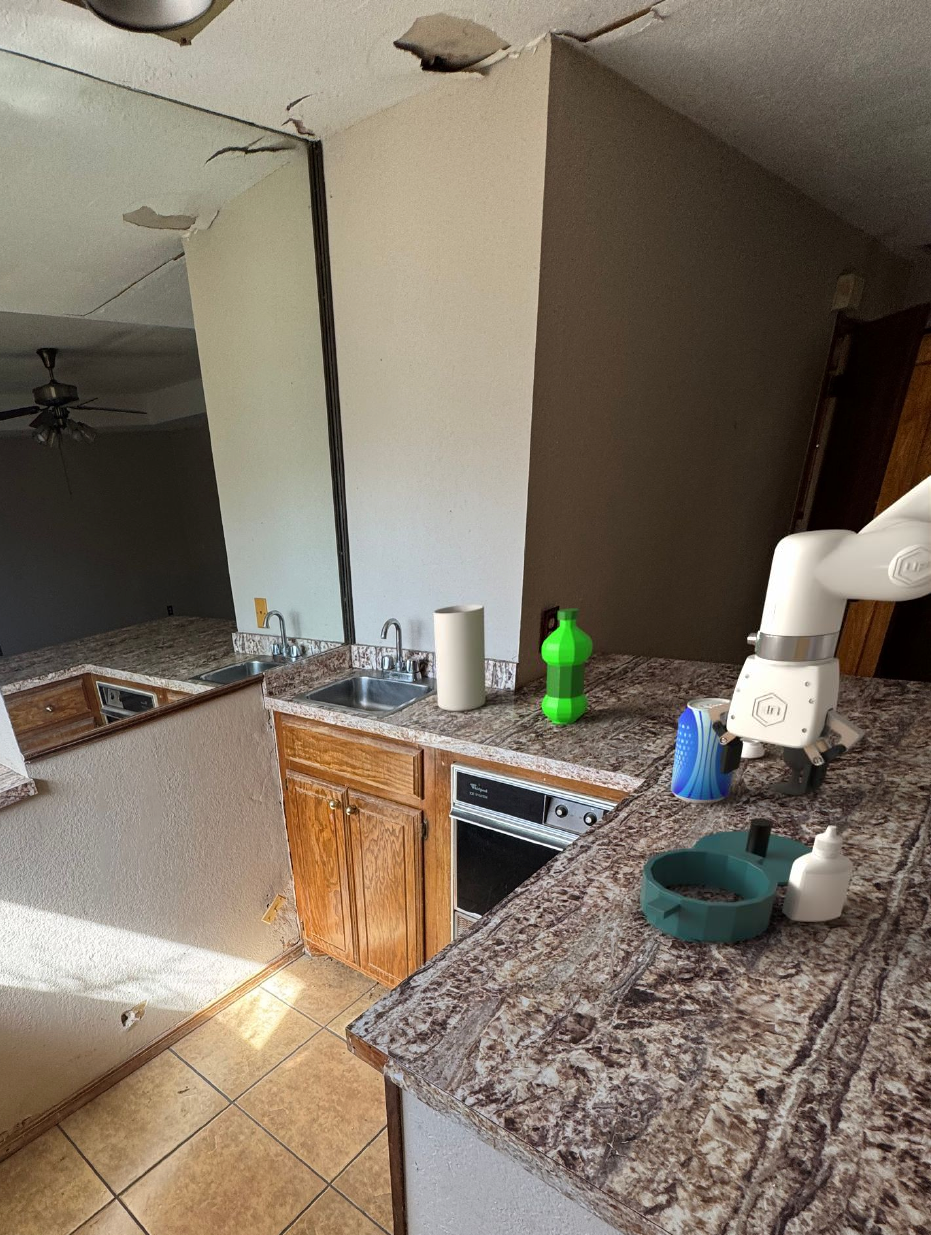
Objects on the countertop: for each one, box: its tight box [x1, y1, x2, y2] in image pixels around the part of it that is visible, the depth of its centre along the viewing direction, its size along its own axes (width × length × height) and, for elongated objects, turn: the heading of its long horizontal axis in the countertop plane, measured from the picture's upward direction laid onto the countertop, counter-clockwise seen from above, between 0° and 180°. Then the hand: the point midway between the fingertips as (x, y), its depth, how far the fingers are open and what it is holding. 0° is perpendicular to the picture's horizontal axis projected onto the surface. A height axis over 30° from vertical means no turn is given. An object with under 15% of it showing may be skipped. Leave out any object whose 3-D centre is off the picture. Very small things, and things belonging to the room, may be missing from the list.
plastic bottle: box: [541, 607, 594, 725], centre depth 146 cm, size 10×10×25 cm
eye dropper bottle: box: [781, 825, 854, 923], centre depth 74 cm, size 4×6×12 cm
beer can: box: [670, 697, 734, 804], centre depth 104 cm, size 8×8×16 cm
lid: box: [693, 817, 813, 886], centre depth 87 cm, size 15×15×6 cm
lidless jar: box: [740, 737, 765, 759], centre depth 120 cm, size 5×3×5 cm
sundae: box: [773, 729, 833, 796], centre depth 103 cm, size 7×7×15 cm
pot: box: [639, 848, 778, 945], centre depth 79 cm, size 14×19×6 cm
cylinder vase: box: [433, 603, 486, 712], centre depth 169 cm, size 12×12×25 cm
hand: (767, 780), depth 84 cm, fingers open, 9 cm apart
